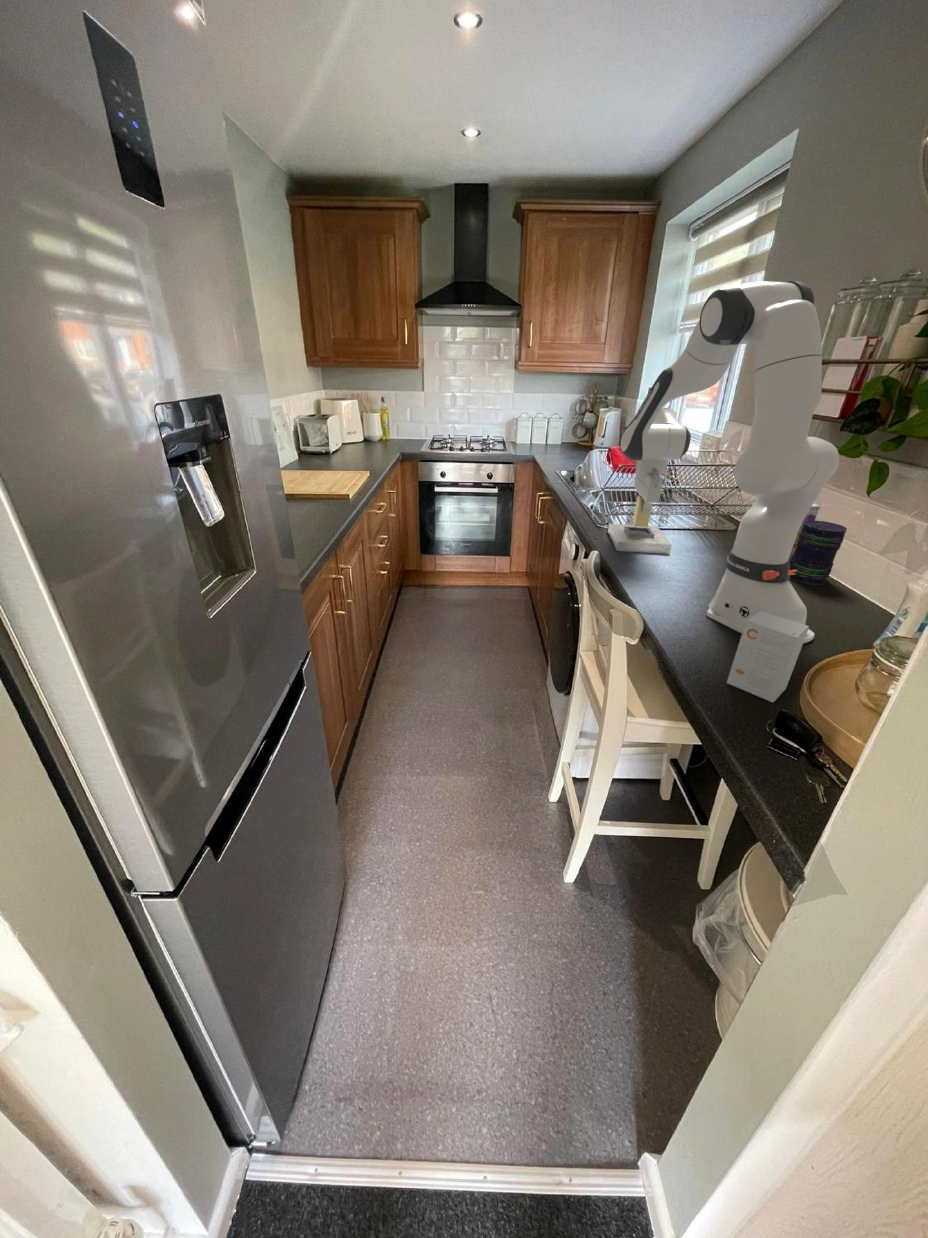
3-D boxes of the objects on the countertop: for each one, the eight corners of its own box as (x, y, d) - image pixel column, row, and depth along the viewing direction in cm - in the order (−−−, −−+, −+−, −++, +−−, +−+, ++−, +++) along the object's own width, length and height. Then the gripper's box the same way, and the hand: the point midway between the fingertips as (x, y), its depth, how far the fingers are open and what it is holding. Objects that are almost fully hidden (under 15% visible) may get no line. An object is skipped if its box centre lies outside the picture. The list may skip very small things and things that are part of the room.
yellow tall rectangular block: (647, 527, 157) (653, 498, 153) (634, 526, 157) (640, 498, 153) (645, 523, 161) (650, 495, 156) (632, 522, 161) (637, 495, 157)
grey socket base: (669, 554, 152) (672, 541, 150) (616, 550, 154) (618, 538, 152) (655, 534, 170) (657, 523, 168) (607, 531, 171) (609, 520, 170)
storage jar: (802, 569, 143) (820, 519, 136) (835, 582, 135) (856, 529, 128) (777, 573, 140) (794, 521, 133) (809, 586, 132) (829, 532, 125)
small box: (785, 689, 88) (811, 625, 82) (773, 704, 84) (798, 637, 78) (739, 671, 94) (759, 609, 88) (725, 683, 90) (745, 619, 84)
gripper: (670, 472, 141) (660, 520, 147) (654, 460, 159) (646, 503, 165) (647, 471, 142) (638, 518, 148) (634, 459, 160) (627, 502, 166)
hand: (642, 510), depth 157 cm, fingers closed on yellow tall rectangular block, 4 cm apart
